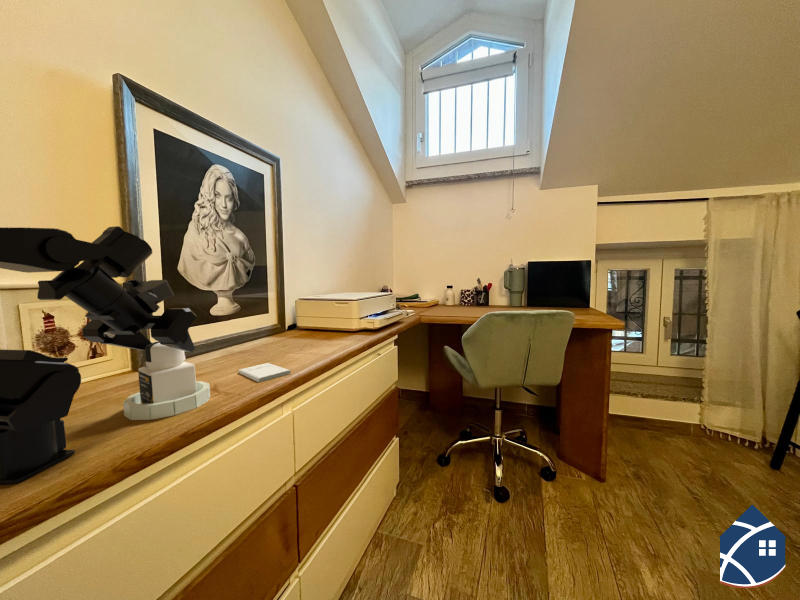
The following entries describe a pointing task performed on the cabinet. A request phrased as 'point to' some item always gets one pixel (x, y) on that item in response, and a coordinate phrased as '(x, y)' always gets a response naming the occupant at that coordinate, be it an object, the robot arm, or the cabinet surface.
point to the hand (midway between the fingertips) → (173, 349)
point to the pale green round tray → (165, 404)
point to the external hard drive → (264, 372)
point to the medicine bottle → (165, 375)
